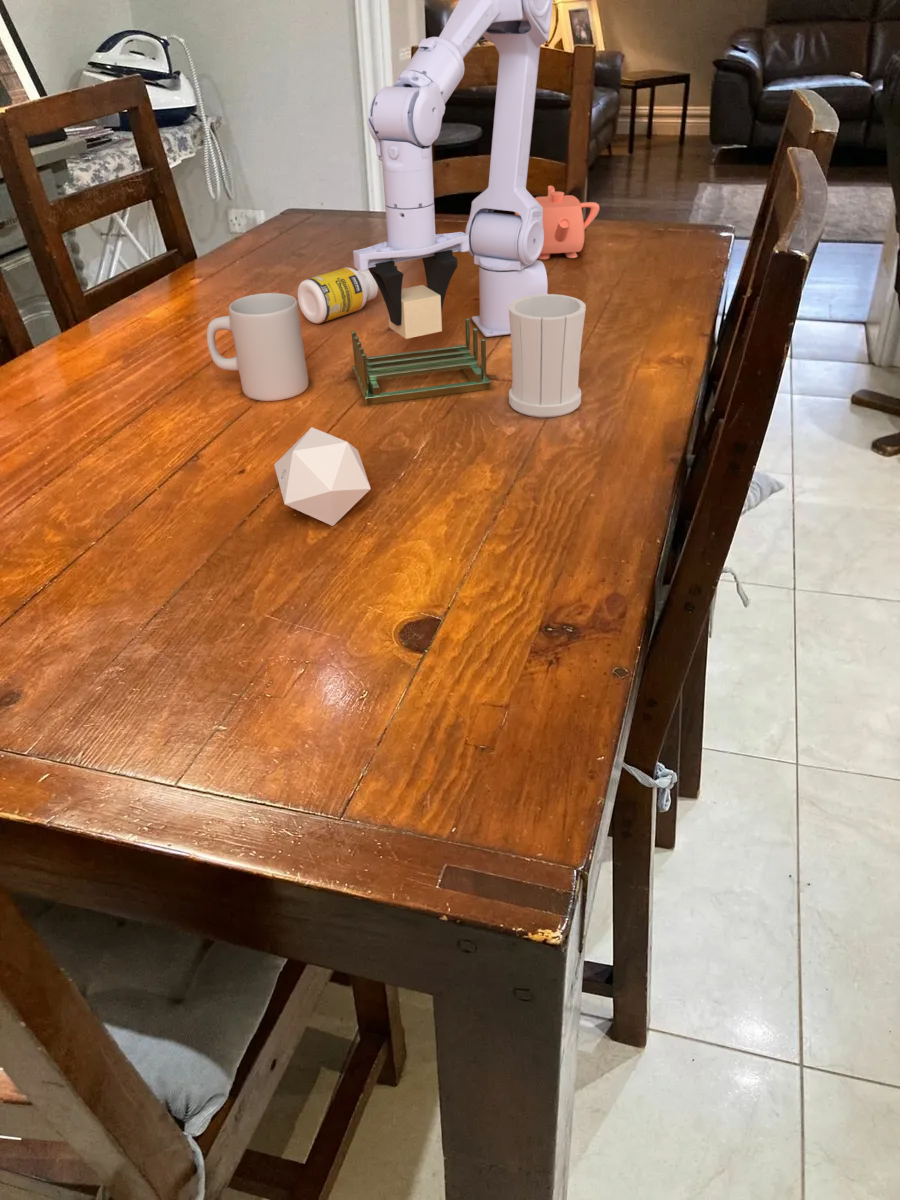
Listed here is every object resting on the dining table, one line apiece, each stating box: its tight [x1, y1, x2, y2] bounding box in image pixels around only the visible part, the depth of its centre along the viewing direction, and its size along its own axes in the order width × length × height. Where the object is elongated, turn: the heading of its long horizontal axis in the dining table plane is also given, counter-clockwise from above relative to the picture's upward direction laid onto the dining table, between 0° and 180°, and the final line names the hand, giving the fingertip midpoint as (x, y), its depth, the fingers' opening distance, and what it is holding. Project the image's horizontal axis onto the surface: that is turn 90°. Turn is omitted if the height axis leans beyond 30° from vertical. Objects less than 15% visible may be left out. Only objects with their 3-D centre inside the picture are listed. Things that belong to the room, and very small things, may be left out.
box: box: [387, 284, 443, 340], centre depth 116 cm, size 5×5×4 cm
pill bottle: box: [297, 267, 379, 325], centre depth 141 cm, size 6×6×12 cm
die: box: [273, 426, 372, 527], centre depth 92 cm, size 8×9×10 cm
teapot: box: [514, 185, 600, 260], centre depth 163 cm, size 14×12×10 cm
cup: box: [508, 293, 587, 419], centre depth 111 cm, size 10×9×12 cm
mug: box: [206, 292, 310, 402], centre depth 118 cm, size 12×8×11 cm
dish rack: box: [351, 317, 492, 406], centre depth 119 cm, size 16×11×6 cm
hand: (416, 318), depth 116 cm, fingers closed on box, 5 cm apart
